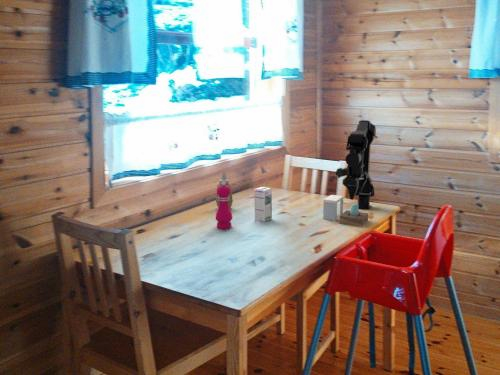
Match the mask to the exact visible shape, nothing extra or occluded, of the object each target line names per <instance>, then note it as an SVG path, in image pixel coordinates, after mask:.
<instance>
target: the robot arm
mask: <svg viewBox="0 0 500 375" xmlns="http://www.w3.org/2000/svg"><path fill="white" fill-rule="evenodd" d="M376 135H377V128H376V125H375V124H373V123H371V121H370V120H365V119H364V120H362V119H361V120H358V124H357V125H356V130H354V131H351V132H350V134H349V135H348V136H347V141H346V146H345V150H346V151H349V153H348V154H346V156H345V158H344V159H345V163H346V165H347V167H343V168H342V167H339V168H336V171H335V176H336V177H337V178H338V179H340V178H341V177H344V178H343V179H342V185H343V186H344V187H346V188H347V191H348V195H349V199H350V201H351V200H352V201H353V200H354V198H355V196H357V204H358V205H359V207H358V209H362V210H370V209H371V208H372V206H373V205H370V203H371V201H370V200H371V197H375V187H374V184H373V179H372V177H371V176H370V165H371V164H370V162H371V146H372V145H371V144H372V143H373V142H374V140H375V137H376Z"/></svg>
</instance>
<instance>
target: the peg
mask: <svg viewBox="0 0 500 375" xmlns="http://www.w3.org/2000/svg"><path fill="white" fill-rule="evenodd" d="M358 207H359V205H358V203H351V204H350V210H349V211H350V216H357V217H358V212H359V208H358Z"/></svg>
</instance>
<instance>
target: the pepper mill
mask: <svg viewBox="0 0 500 375" xmlns="http://www.w3.org/2000/svg"><path fill="white" fill-rule="evenodd" d="M221 184H222V185H221V186H219V187H218V188H217V187H216V196H217V195H218V200H219V208H218V207H217V208H218V209H217V211H216V213H215V220H216V228H217V229H220V230H228V229H230V228H232V220H233V214H232V211H231V209H230V208H229V204H228V202H229V200H230V199H229V198H230V197H229V195H230V193H231V190H232V189H231V190H230V188H229V187H228V186H226V183H225V182H222V183H221Z"/></svg>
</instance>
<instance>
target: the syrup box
mask: <svg viewBox="0 0 500 375" xmlns="http://www.w3.org/2000/svg"><path fill="white" fill-rule="evenodd" d="M253 190H254V191H253V192H254V193H253V196H254V197H253V199H254V201H253V203H254V204H253V206H254V208H253V209H254V220H255V221H258V222H267V221H269V220H272V218H273V214H272V213H273V212H272V211H273V208H272V205H273V204H272V200H273V199H272V198H273V197H272V190H273V189H272V188H271V187H268V186H261V187H257V188H254V189H253Z"/></svg>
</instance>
